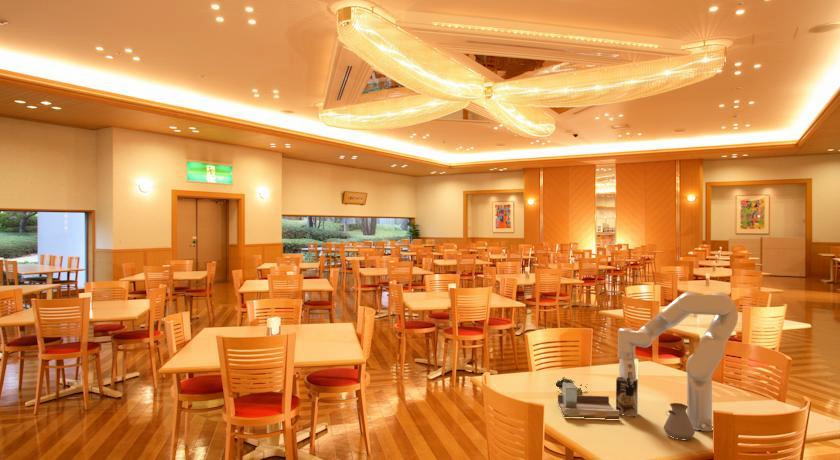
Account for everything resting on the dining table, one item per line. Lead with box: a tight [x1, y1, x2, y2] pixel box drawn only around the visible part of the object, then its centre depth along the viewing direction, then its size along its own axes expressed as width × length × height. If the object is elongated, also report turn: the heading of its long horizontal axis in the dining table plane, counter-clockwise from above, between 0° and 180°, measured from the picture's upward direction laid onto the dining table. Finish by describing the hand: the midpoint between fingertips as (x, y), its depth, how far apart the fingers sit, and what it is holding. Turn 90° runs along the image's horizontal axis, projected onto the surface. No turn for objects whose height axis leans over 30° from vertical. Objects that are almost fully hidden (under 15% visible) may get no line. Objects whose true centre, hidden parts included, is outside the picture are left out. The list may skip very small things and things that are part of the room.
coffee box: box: [615, 376, 639, 418], centre depth 231 cm, size 9×6×16 cm
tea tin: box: [562, 382, 577, 409], centre depth 234 cm, size 8×5×10 cm, turn 174°
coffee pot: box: [663, 402, 696, 440], centre depth 202 cm, size 21×12×15 cm, turn 139°
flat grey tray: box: [557, 394, 620, 420], centre depth 233 cm, size 18×24×5 cm
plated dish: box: [555, 376, 587, 395], centre depth 265 cm, size 35×28×7 cm
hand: (626, 392), depth 231 cm, fingers closed on coffee box, 8 cm apart
